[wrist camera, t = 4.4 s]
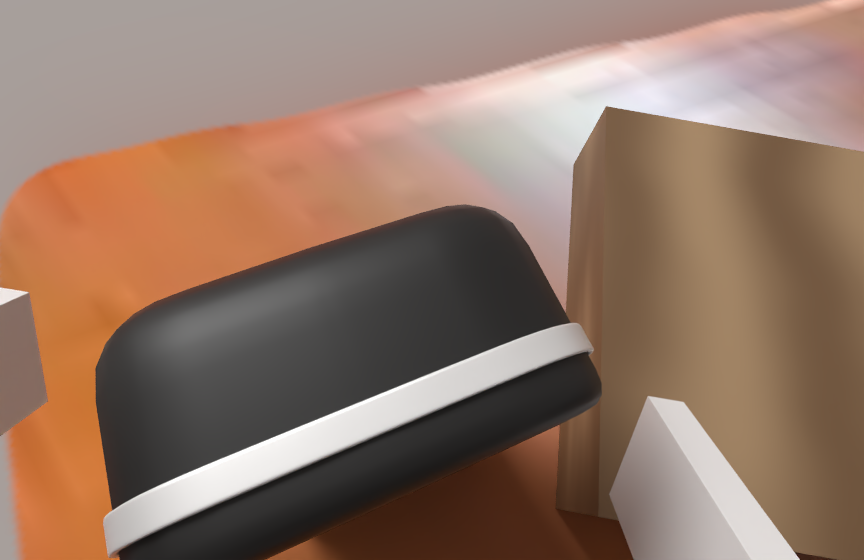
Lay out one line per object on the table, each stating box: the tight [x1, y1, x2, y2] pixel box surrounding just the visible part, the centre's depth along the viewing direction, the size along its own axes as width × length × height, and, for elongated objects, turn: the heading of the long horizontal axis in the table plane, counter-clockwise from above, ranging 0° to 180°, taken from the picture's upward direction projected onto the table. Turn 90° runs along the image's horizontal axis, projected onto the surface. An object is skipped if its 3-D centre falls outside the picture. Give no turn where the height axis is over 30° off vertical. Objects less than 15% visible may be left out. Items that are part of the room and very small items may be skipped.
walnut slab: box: [556, 106, 864, 560], centre depth 17 cm, size 14×14×4 cm
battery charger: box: [96, 205, 602, 560], centre depth 11 cm, size 7×4×11 cm, turn 113°
